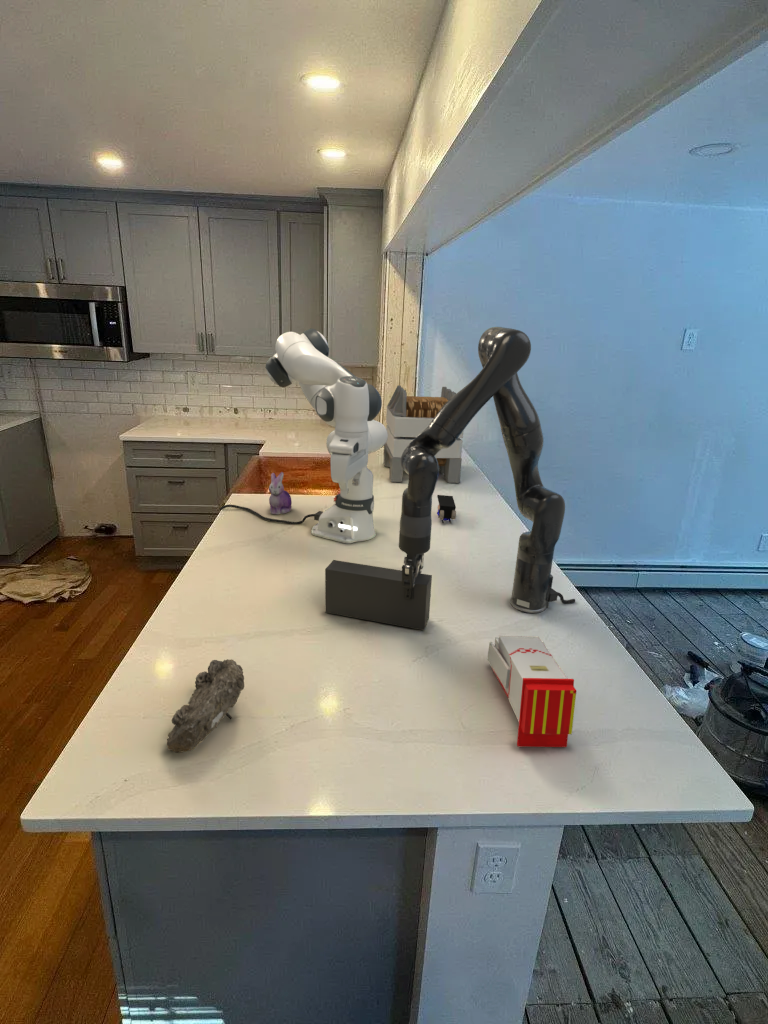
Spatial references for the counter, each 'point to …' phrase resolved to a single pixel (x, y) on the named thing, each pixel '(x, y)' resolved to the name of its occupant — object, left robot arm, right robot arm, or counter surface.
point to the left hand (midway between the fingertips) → (350, 490)
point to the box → (376, 594)
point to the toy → (534, 690)
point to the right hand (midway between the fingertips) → (411, 593)
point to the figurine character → (446, 508)
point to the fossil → (206, 705)
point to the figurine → (278, 496)
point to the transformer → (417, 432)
